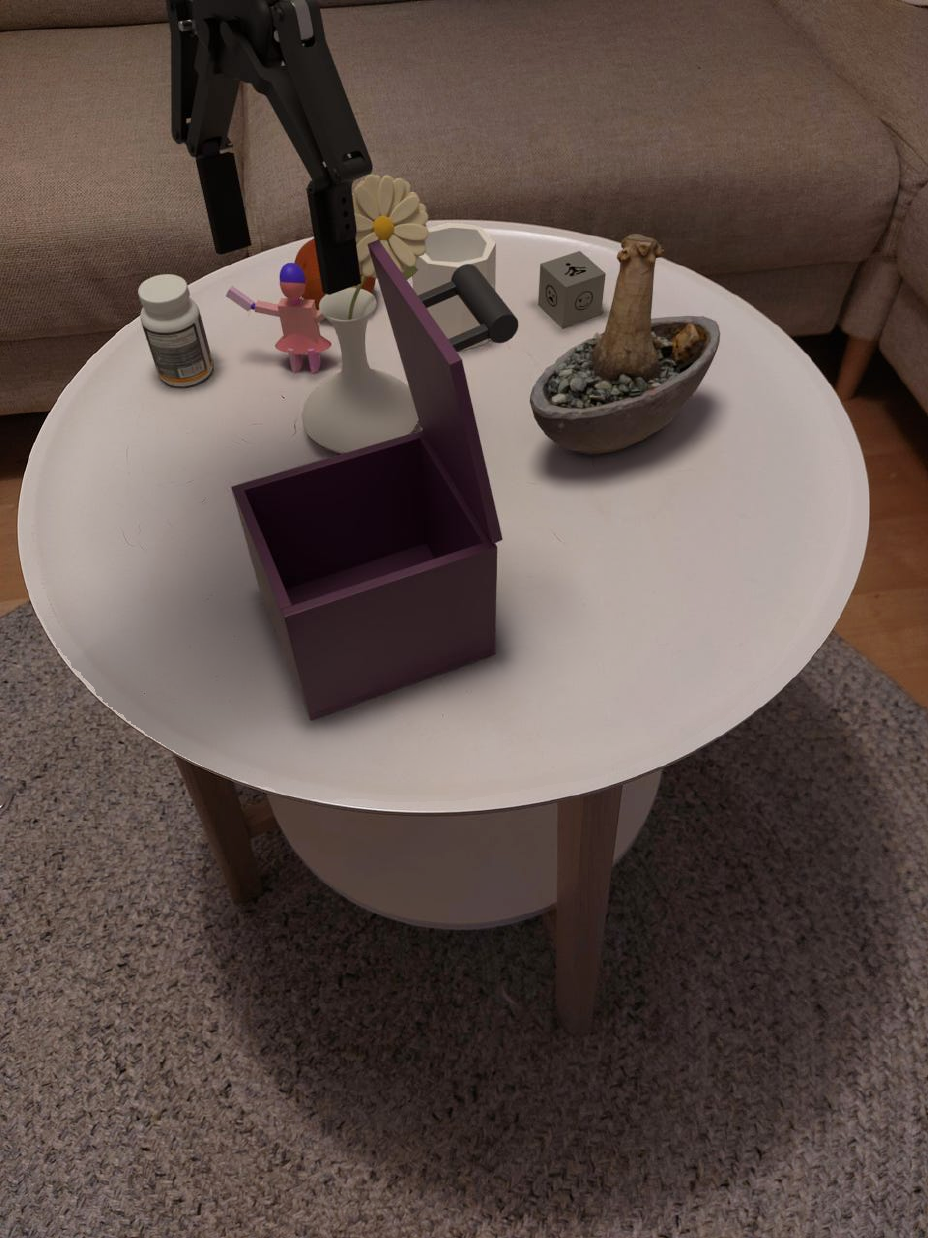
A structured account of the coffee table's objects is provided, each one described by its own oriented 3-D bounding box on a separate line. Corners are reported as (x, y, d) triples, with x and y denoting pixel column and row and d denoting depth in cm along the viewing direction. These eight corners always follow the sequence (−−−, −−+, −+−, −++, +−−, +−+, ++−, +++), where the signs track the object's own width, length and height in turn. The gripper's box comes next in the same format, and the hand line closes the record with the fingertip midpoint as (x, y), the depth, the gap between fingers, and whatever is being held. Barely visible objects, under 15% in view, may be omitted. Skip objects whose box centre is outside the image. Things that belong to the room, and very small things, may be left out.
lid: (449, 364, 55) (541, 323, 55) (366, 243, 63) (448, 208, 63) (492, 544, 68) (566, 510, 69) (420, 426, 76) (487, 396, 76)
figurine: (243, 351, 104) (221, 255, 95) (355, 353, 103) (343, 257, 94) (236, 371, 101) (213, 275, 93) (351, 374, 101) (339, 277, 92)
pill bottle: (169, 352, 104) (143, 268, 96) (221, 356, 103) (200, 272, 95) (151, 386, 100) (123, 302, 92) (205, 391, 100) (181, 306, 92)
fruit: (389, 316, 107) (384, 249, 101) (311, 334, 105) (300, 267, 99) (366, 273, 112) (359, 207, 106) (291, 290, 110) (279, 223, 104)
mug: (499, 348, 103) (500, 264, 96) (418, 354, 103) (413, 270, 95) (486, 283, 111) (486, 200, 103) (410, 288, 110) (405, 206, 102)
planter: (707, 395, 98) (751, 205, 82) (678, 509, 88) (722, 319, 73) (564, 368, 101) (579, 180, 85) (520, 476, 91) (529, 286, 75)
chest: (310, 720, 75) (284, 617, 65) (261, 595, 83) (230, 486, 73) (495, 654, 79) (497, 546, 68) (431, 540, 86) (425, 428, 76)
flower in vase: (307, 472, 92) (260, 223, 72) (301, 395, 99) (257, 149, 79) (444, 457, 93) (435, 207, 73) (429, 381, 100) (417, 135, 80)
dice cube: (562, 328, 105) (565, 287, 101) (538, 304, 108) (540, 263, 104) (601, 314, 107) (605, 273, 103) (576, 291, 109) (579, 250, 106)
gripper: (406, -116, 51) (439, 290, 64) (170, -103, 66) (236, 223, 79) (287, -103, 47) (348, 325, 60) (65, -93, 62) (153, 248, 75)
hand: (284, 268), depth 70 cm, fingers open, 13 cm apart
